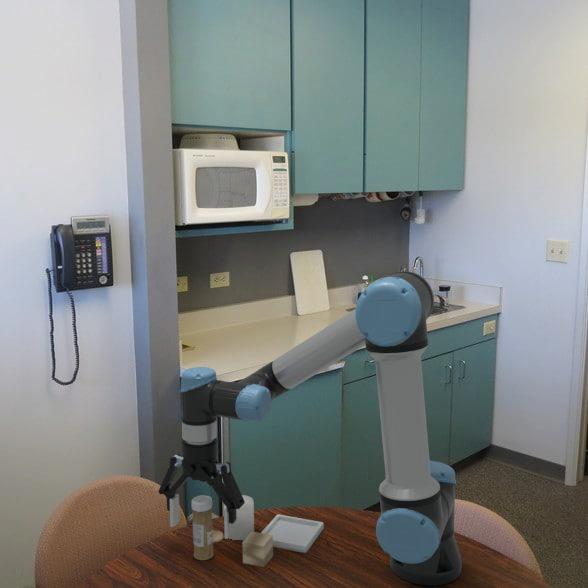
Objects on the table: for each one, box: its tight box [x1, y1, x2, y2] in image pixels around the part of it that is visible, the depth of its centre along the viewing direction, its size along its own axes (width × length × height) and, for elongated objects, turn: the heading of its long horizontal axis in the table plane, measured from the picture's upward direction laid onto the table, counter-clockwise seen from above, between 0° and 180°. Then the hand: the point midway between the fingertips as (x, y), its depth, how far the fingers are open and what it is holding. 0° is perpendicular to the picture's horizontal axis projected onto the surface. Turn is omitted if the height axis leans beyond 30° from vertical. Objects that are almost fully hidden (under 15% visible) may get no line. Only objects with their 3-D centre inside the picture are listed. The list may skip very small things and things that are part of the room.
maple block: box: [241, 531, 274, 568], centre depth 152 cm, size 5×5×5 cm
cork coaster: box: [213, 529, 225, 544], centre depth 162 cm, size 5×5×1 cm
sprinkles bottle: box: [191, 495, 215, 561], centre depth 153 cm, size 5×5×14 cm
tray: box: [260, 513, 325, 554], centre depth 162 cm, size 12×12×2 cm
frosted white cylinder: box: [223, 494, 255, 541], centre depth 164 cm, size 8×7×8 cm
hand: (201, 530), depth 153 cm, fingers open, 13 cm apart
